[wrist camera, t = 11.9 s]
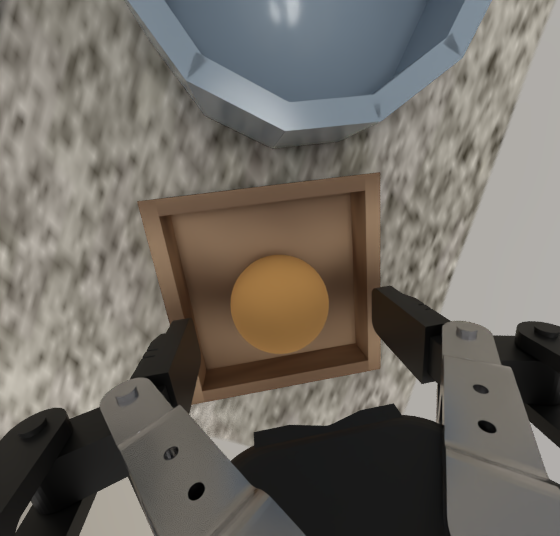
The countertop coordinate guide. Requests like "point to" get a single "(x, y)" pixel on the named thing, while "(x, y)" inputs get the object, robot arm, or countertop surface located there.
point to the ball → (279, 304)
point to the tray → (260, 243)
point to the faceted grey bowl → (306, 59)
